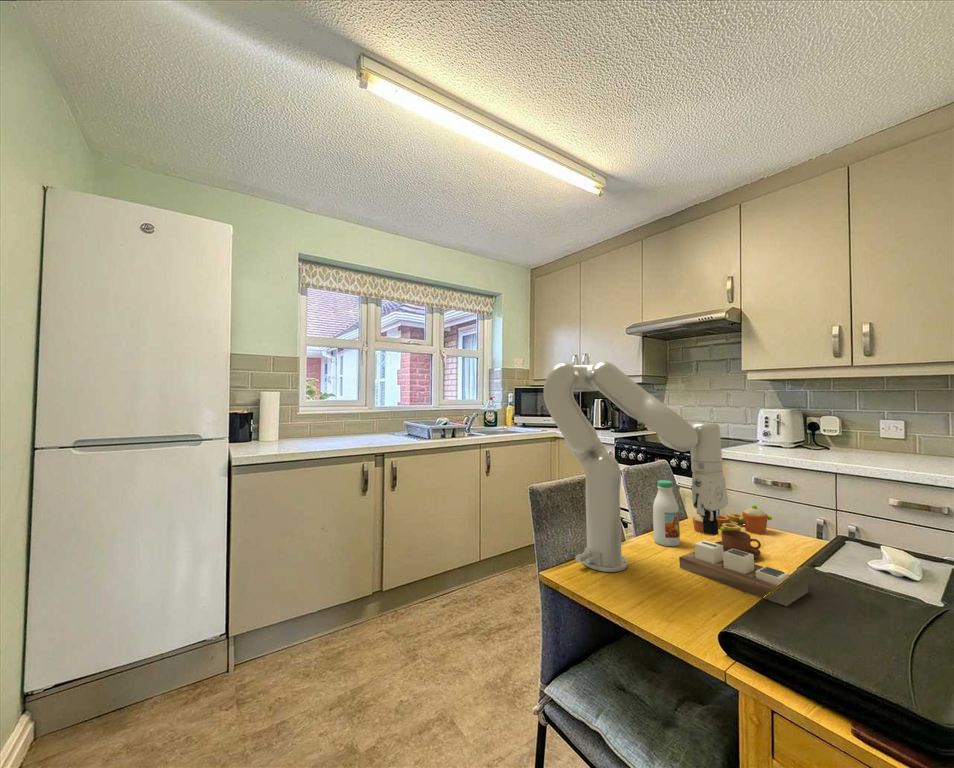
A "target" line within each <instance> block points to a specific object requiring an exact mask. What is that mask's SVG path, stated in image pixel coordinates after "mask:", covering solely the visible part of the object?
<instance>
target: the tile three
mask: <svg viewBox="0 0 954 768" xmlns="http://www.w3.org/2000/svg"><path fill="white" fill-rule="evenodd" d="M789 575H790V573H788V572H784V571H782V570H778V569H776V568H773V567H769V566H763V568H761V569H759V570H757V571H756V578H757V579H760V580H763V581H766V582H769V583H772V584H775V585H779V584H781V583H782V582H783V581H784V580H785V579H787V578H788V577H789Z"/></svg>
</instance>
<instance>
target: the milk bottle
mask: <svg viewBox="0 0 954 768" xmlns="http://www.w3.org/2000/svg"><path fill="white" fill-rule="evenodd" d="M673 486H674V485H673V482H672V481H671V480H666V479H665V480H664V479H663V480H662V479H660V480H657V489H658V491H657V494H656V496H655V498H654V501H653V506H652V515H653V516H652V519H653V520H652V521H653V540H654V542H655V543H656V544H658V545H661V546H664V547H677V546H679V545H680V543H681V532H680V530H681V529H680V512H679V511H680V509H679V505H678V501H677V500H676V498H675V495H674V494H673V493H674V492H673V489H674V488H673Z"/></svg>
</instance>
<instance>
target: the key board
mask: <svg viewBox="0 0 954 768" xmlns="http://www.w3.org/2000/svg"><path fill="white" fill-rule="evenodd" d="M678 560H679V568H680V569H681V570H685V571H687V572H689V573H693V574H695V575H698V576H701V577H702V578H703V577H704V578H706V579H708V580H712V581H715V582H717V583H719V584H722V585H725V586H727V587H731V588H732V589H736V590H739V591H742V592H744V593H747V594H748V595H751V596H755V597H757V598H760V599H763V597H764V596H765V595H767V594H768V593H769V592H771V591H772V590H774V589H775V588H776V587H777V586H778V585H775V584H772V583H769V582H766V581H763V580H760V579H757V578H756V571H757V570H759V569H761V568H763V567H764V566H762V565H759V564H756V563H754V571H752V572H750V573H748V574H746V575H745V574H742V573H739V572H736V571H733V570H730V569H727V568H724V561H721V562H719V563H716V564H712V563H709V562H706V561H703V560H700V559H697V558H695V550H693V551H692V552H689V553H686V554H683V555H681V556H679V557H678ZM790 575H791V574H789V576H790Z"/></svg>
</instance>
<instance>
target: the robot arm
mask: <svg viewBox="0 0 954 768" xmlns="http://www.w3.org/2000/svg"><path fill="white" fill-rule="evenodd" d="M597 391H598V392H599V393H601V394H602V395H603V396H604V397H605V398H607V399H608V400H609V401H611V402H612V403H613V404H614V405H615V406H616V407H617V408H619V409H620V410H621V411H622V412H624V413H625V414H626V415H627V416H629V417H631V419H632V418H633V419H634V420H636V421H638V422H640V423H642V424H643V425H645V426H646V427H648V428H649V429H650V430H652V431H653V432H655V433H656V434H657V437H658V439H659V442H661V444H662V445H664V446H665V447H667V448H670V449H673V450H674V451H675V450H676V451H678V452H690V463H691V465H690V466H691V472H692V477H691V478H692V479H691V501H692V506H693V508H694V509H696V515H698V516H700V515H701V517H702V519H703V531H704V533H703V534H706V535H710V536H711V535H712V536H717V535H719V529H718V520H716V519H718V515H719V512H720V511H721V509H724V508H726V507H727V506H728V504H729V503H728V492H727V486H726V485H727V484H726V479H725V475H724V469H723V456H722V455H723V453H722V441H721V440H722V439H721V438H722V437H721V427H720V425H719V424H718V423H716V422H709V421H708V422H705V421H702V422H701V421H700V422H699V421H698V422H691V423H689V422H688V421H687V420H685V419H684V418H683V417H682V416H680V415H679V414H678V413H677V412H675V411H674V410H673V409H671V407H669V406H667V405H666V404H665V403H663V402H662V401H660V400H659V399H657V398H656V397H655V396H654V395H652V394H651V393H650V392H647V391H646V390H645V389H644V388H643V387H642V386H640V385H639V384H638V383H636V382H635V381H634V379H632V378H631V377H630V376H628V375H627V374H626V373H624V372H623V371H622V370H621V369H619V367H617V366H616V365H614V364H613V363H611V362H609V361H606V360H605V361H603V360H602V361H599V362H597V363H594V364H582V365H581V364H580V365H578V364H577V365H576V364H575V365H573V364H572V363H570V362H564V361H563V362H559V363H557V364H554V366H553V367H552V368H551V370H550V371H549V373H548V374H547V377H546V378H545V382H544V385H543V400H544V404H545V407H546V409H547V411H548V413H549V415H550V416H551V418H552V420H553V421H554V424H555V425H556V426H557V428H558V431H559V432H560V433H561V435H562V437H563V440H564V442H565V444H566V445H567V447H568V448H569V450H570V451H571V453H572V455H573V456H574V457H575V459H576V461H577V462H578V464H579V465H580V467H581V468H582V470H583V472H584V473H585V474H584V475H585V516H586V517H585V519H586V523H585V525H586V547H584V551H583V552H582V553H580V554H579V553H578V554H575V557H574V558H575V561H576V562H577V563H582V564H583V565H584V566H585V567H587V568H589V569H592V570H594V571H597V572H598V571H599V572H606V573H616V572H622V571H624V570H626V569H627V568H628V560H627V559H626V558H625V556H623V555H622V554H623V553H622V552H623V551H622V526H621V525H622V523H621V521H622V518H621V515H622V514H621V486H622V484H621V483H622V473H621V472H622V471H621V467H620V465H619V462H618V461H617V459H616V458H615V457H614V456H612V455H611V454H610V453H609V451H608V450H607V449H606V446H605V445H604V443H603V442H602V441H601V439H600V437H599V436H598V432H597V430H596V429H595V427H594V426H593V425H592V424H591V423H590V421H589V419H587V417H586V415H585V414H584V412H583V411H582V409H581V407H580V406H579V404H578V402H577V400H576V399H575V397H574V392H597Z"/></svg>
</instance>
